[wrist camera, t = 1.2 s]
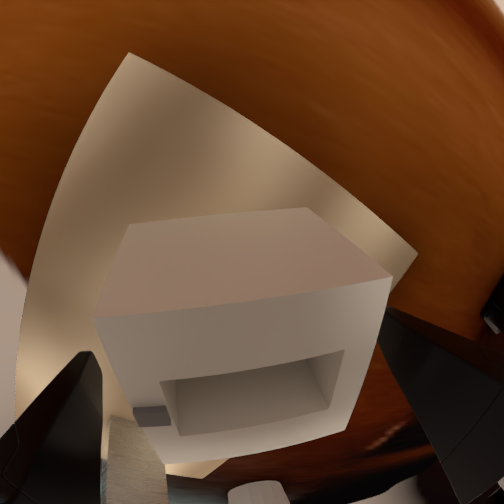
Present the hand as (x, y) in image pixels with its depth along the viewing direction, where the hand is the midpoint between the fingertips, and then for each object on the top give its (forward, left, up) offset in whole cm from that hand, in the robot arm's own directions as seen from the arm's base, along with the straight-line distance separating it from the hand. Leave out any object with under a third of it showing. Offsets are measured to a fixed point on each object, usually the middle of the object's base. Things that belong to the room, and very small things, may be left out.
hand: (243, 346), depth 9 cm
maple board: (0, +5, -4) cm, 7 cm away
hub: (0, 0, -3) cm, 3 cm away
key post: (0, +10, -3) cm, 10 cm away
